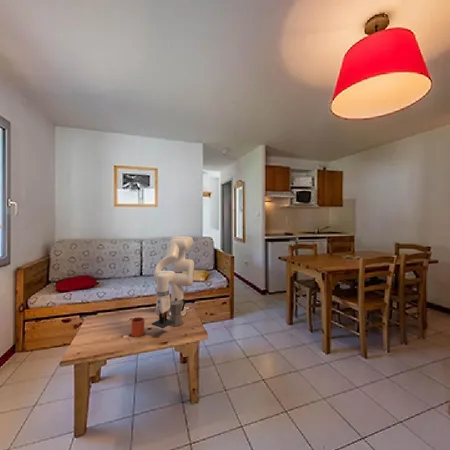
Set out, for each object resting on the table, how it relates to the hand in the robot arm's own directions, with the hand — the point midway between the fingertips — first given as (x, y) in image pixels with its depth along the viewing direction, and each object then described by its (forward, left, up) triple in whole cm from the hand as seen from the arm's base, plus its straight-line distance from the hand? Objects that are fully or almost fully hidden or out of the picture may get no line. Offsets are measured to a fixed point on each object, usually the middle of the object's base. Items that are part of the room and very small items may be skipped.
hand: (163, 321), depth 156 cm
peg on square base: (0, 0, -1) cm, 1 cm away
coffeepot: (-15, -7, -8) cm, 18 cm away
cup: (+12, -10, -8) cm, 17 cm away
